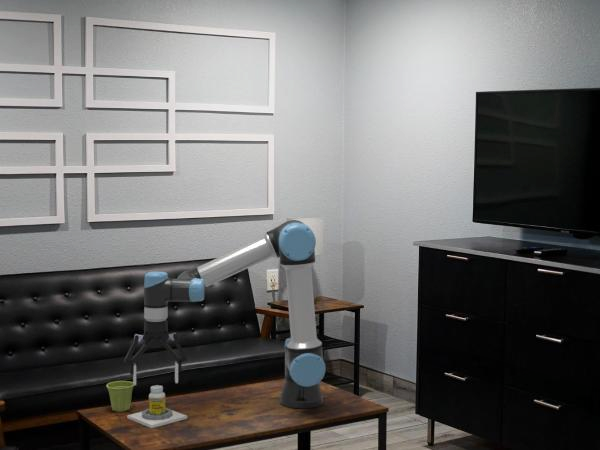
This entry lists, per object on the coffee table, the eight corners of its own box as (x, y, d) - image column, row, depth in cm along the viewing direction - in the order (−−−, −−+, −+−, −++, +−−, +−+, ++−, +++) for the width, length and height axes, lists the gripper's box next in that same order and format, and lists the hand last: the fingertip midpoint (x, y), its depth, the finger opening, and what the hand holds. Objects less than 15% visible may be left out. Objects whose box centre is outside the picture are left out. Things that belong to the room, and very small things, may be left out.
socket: (187, 418, 292) (187, 412, 292) (151, 428, 282) (151, 421, 282) (162, 409, 302) (162, 403, 302) (127, 418, 292) (127, 411, 292)
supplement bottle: (164, 412, 296) (164, 384, 295) (166, 417, 290) (165, 388, 289) (148, 413, 294) (148, 385, 293) (149, 418, 289) (149, 389, 288)
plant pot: (106, 414, 297) (106, 389, 296) (106, 406, 306) (106, 381, 305) (135, 412, 299) (134, 387, 298) (134, 404, 308) (134, 380, 307)
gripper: (192, 315, 296) (192, 378, 298) (116, 318, 290) (116, 381, 292) (195, 320, 289) (195, 384, 291) (117, 322, 282) (117, 388, 284)
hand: (155, 383), depth 291 cm, fingers open, 13 cm apart
